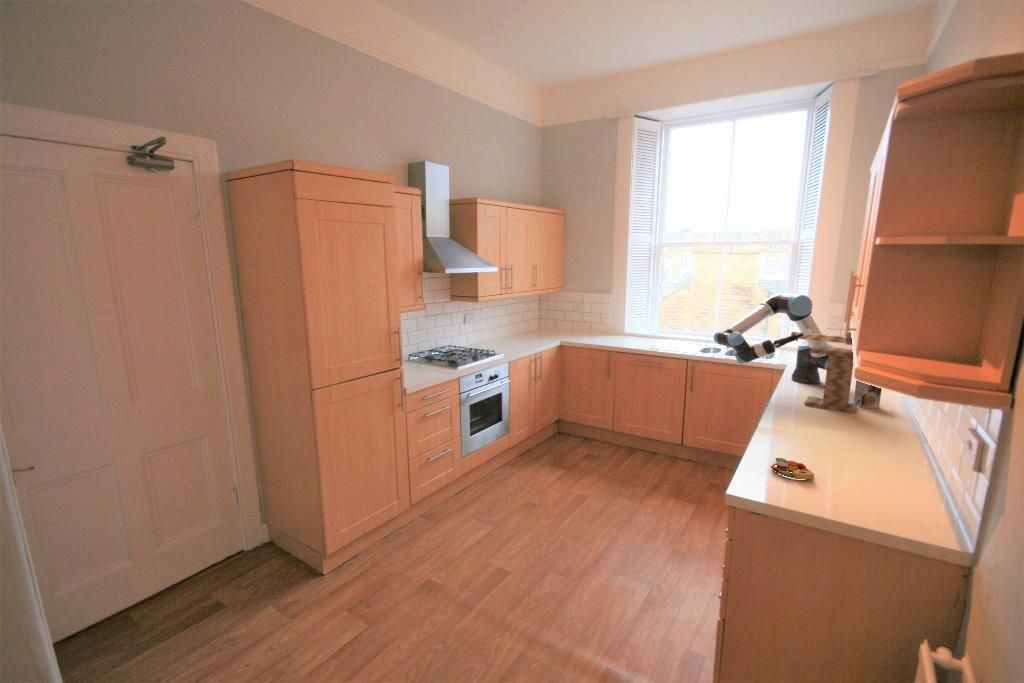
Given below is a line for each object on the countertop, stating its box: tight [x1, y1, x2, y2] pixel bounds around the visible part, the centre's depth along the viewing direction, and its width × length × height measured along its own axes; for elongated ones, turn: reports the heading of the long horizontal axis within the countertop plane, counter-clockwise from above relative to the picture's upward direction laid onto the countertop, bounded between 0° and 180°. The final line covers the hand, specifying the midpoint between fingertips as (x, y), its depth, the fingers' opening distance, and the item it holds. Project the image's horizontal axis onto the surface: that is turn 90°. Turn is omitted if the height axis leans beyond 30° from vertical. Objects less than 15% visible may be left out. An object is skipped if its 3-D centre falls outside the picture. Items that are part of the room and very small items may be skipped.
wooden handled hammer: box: [790, 331, 853, 346], centre depth 235 cm, size 30×10×6 cm, turn 50°
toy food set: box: [770, 457, 815, 480], centre depth 166 cm, size 13×13×3 cm
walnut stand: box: [804, 346, 858, 414], centre depth 236 cm, size 21×12×30 cm, turn 49°
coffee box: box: [853, 379, 882, 409], centre depth 237 cm, size 9×6×16 cm
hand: (810, 331), depth 239 cm, fingers closed on wooden handled hammer, 3 cm apart
